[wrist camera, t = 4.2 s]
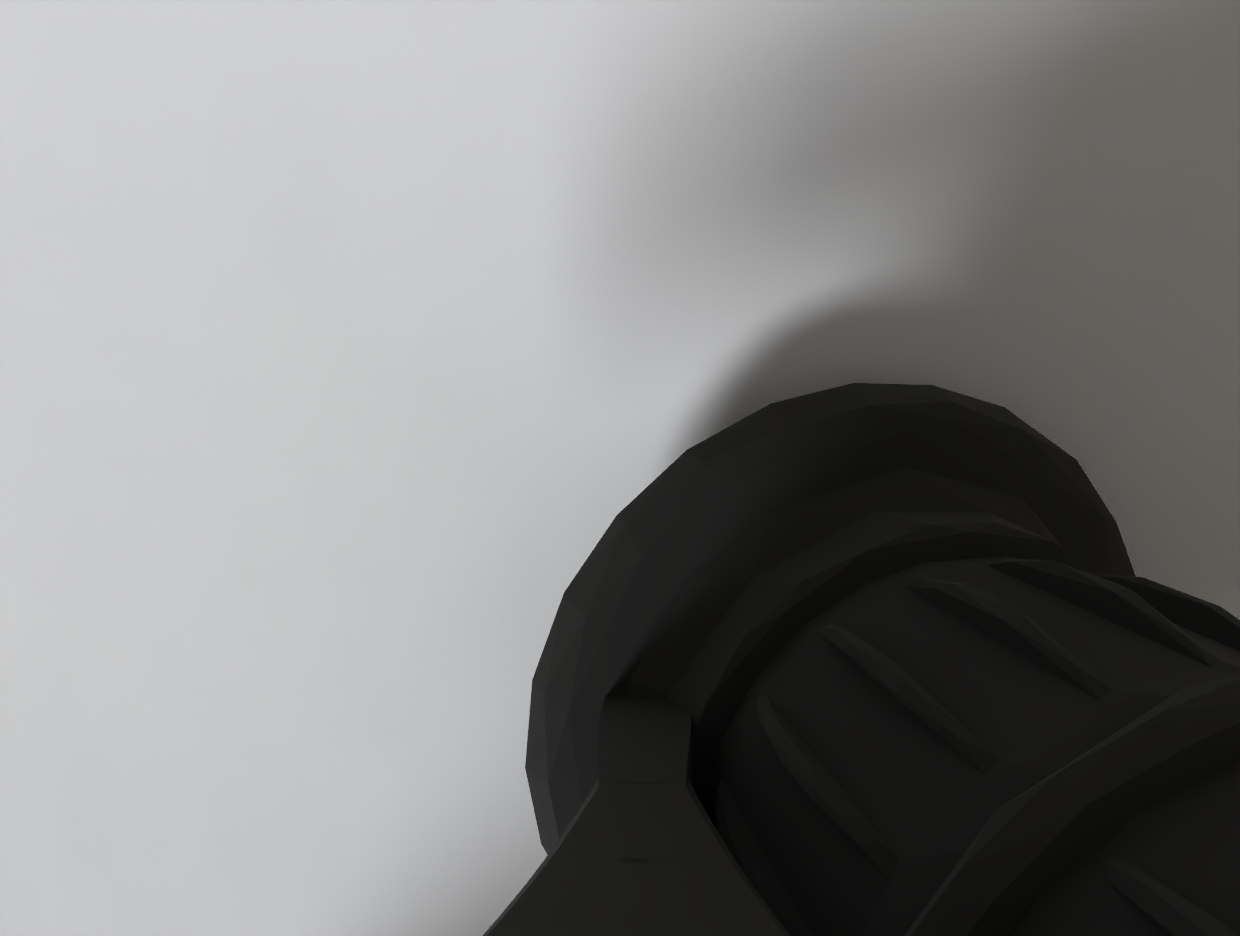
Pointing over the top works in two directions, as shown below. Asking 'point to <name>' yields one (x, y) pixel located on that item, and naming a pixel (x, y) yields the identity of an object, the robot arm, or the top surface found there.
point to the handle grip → (911, 678)
